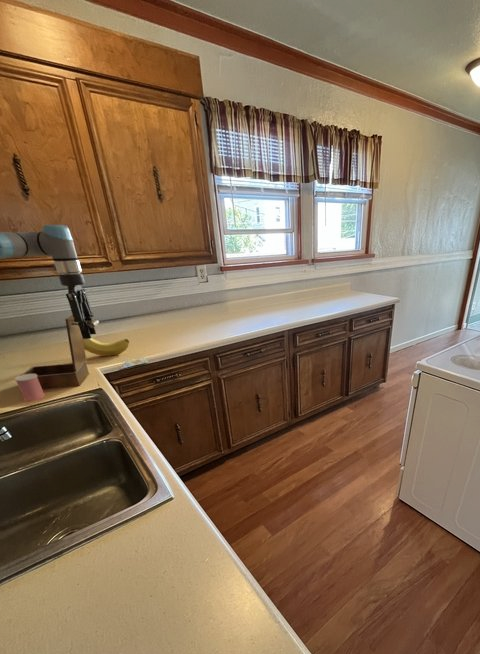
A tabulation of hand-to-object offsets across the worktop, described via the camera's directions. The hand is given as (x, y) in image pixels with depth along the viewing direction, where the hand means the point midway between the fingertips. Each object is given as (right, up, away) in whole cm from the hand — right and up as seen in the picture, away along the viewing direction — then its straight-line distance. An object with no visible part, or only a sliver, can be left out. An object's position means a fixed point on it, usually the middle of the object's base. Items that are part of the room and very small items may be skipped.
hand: (89, 336), depth 128 cm
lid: (-5, -2, 0) cm, 6 cm away
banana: (-15, -3, +37) cm, 40 cm away
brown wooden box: (-16, -19, +5) cm, 25 cm away
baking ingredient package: (+3, -8, +25) cm, 26 cm away
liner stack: (-15, -25, -8) cm, 30 cm away
